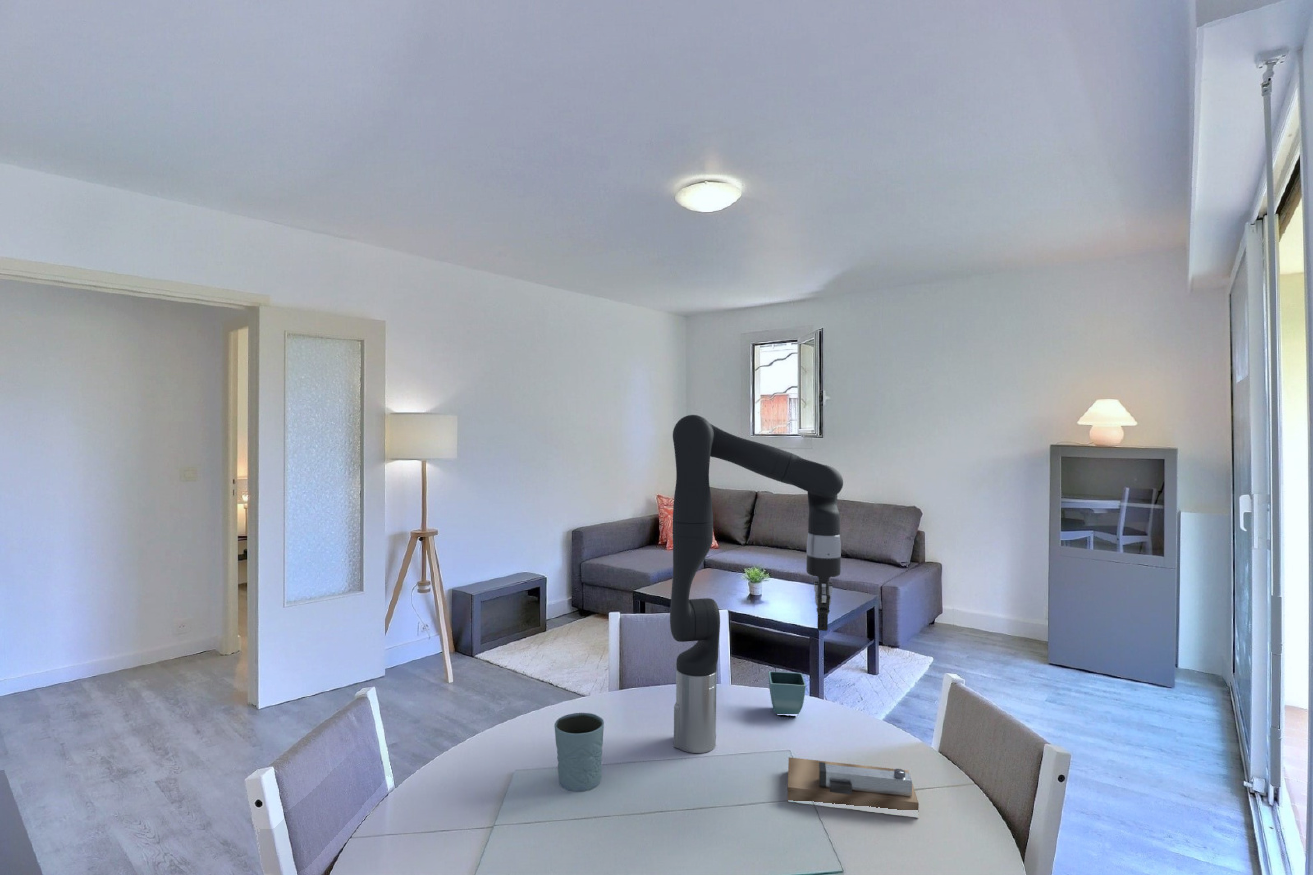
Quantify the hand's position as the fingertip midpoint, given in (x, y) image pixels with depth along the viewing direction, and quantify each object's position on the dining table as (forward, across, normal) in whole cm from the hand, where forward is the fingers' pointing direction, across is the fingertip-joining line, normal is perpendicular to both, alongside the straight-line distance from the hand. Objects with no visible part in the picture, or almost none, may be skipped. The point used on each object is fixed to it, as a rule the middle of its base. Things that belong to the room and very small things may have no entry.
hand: (822, 629), depth 153 cm
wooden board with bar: (+27, -18, -5) cm, 33 cm away
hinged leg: (+24, -22, -7) cm, 33 cm away
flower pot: (+27, +17, +8) cm, 33 cm away
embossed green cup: (+27, -26, +49) cm, 62 cm away
